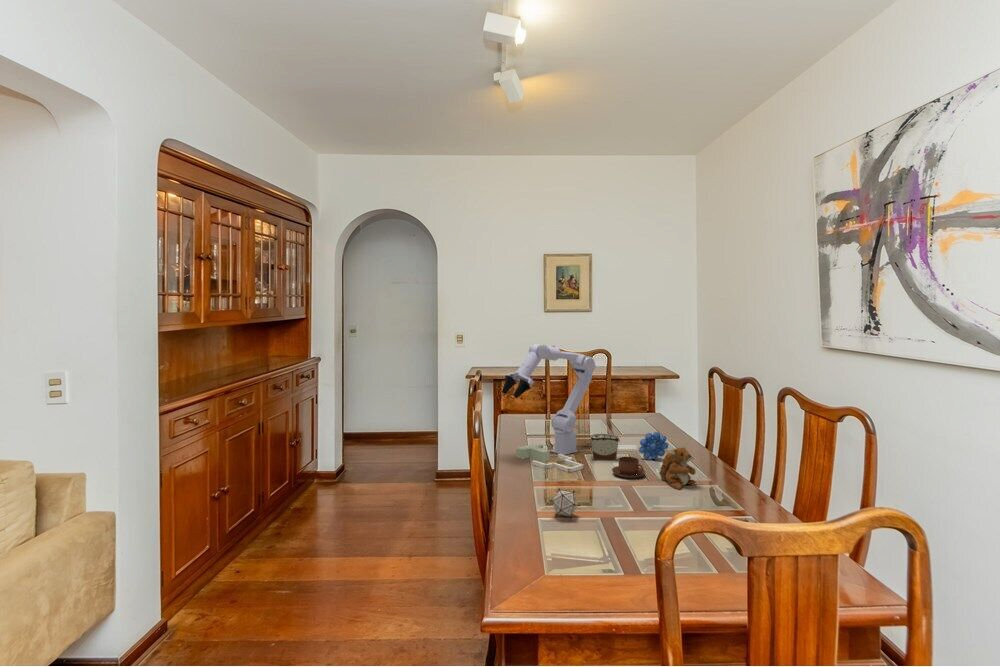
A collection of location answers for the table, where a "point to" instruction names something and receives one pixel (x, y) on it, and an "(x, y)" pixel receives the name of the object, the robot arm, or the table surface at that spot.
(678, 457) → the stuffed squirrel
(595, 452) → the food container
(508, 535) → the table surface
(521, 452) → the T block
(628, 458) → the cup and saucer
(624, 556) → the table surface
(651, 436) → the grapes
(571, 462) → the T socket
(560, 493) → the game die
